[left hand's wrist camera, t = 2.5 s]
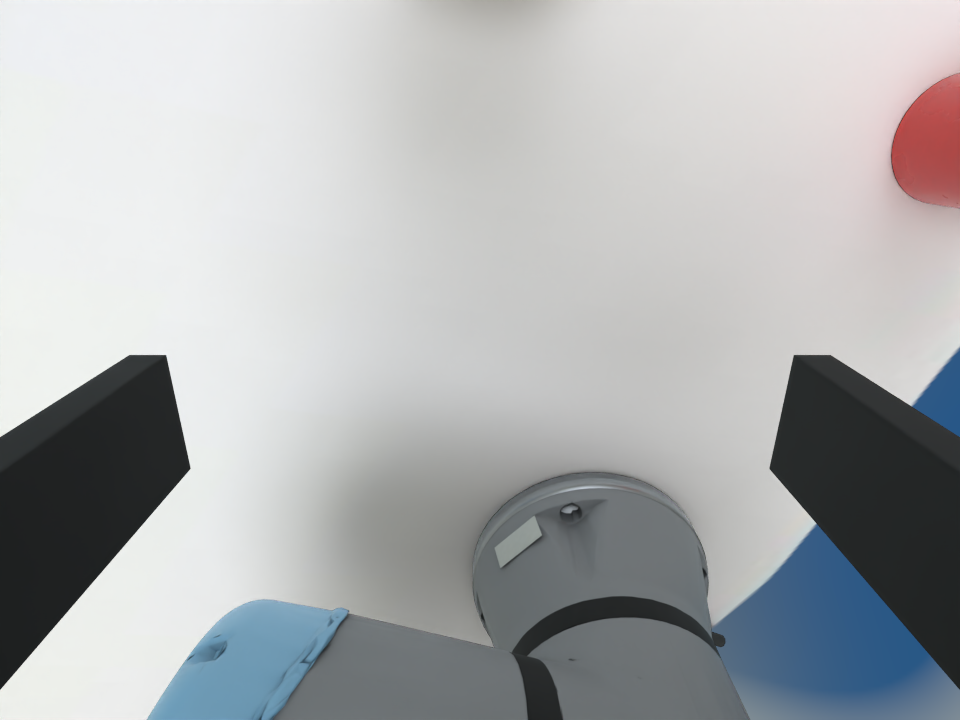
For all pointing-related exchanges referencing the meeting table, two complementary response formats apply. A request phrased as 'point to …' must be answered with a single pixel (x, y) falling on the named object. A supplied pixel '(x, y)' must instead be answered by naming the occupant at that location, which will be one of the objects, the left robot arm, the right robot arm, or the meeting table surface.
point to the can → (931, 146)
